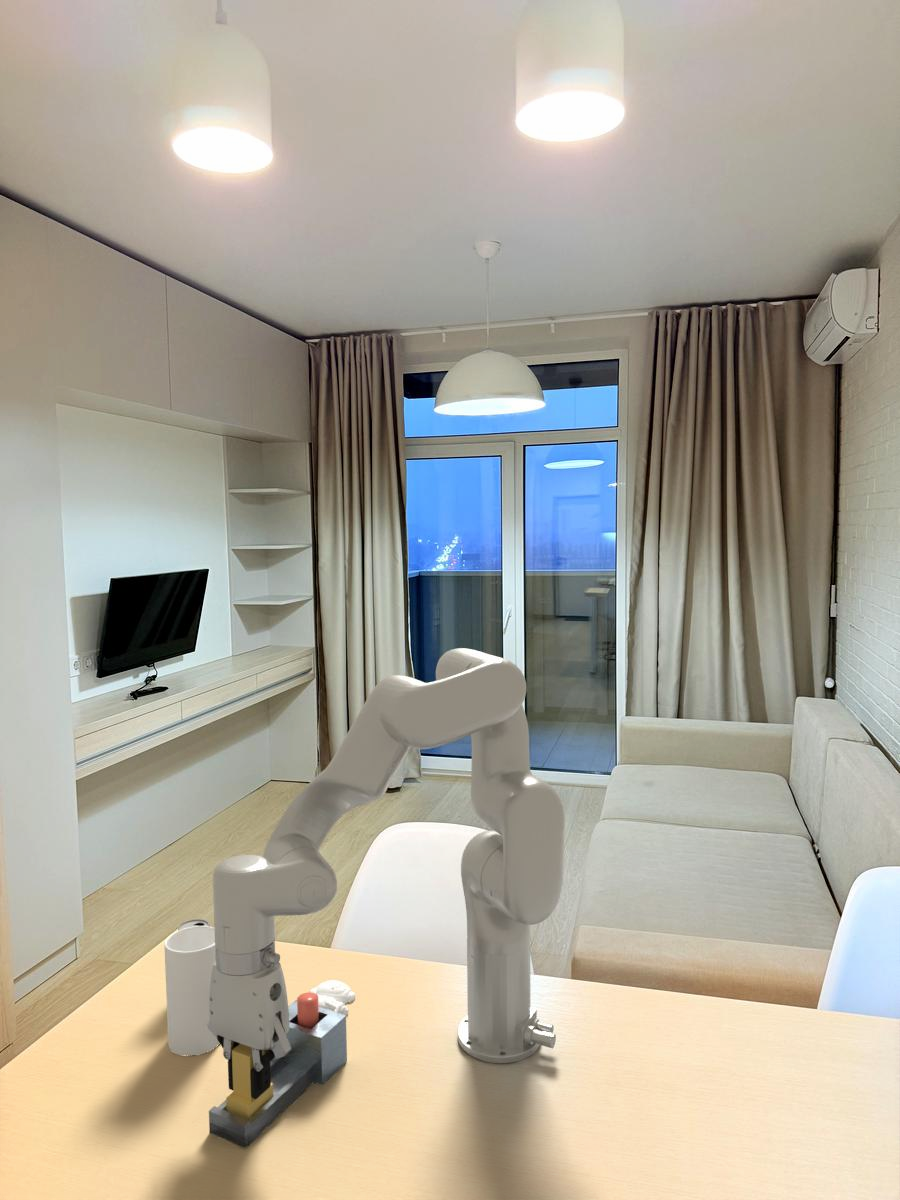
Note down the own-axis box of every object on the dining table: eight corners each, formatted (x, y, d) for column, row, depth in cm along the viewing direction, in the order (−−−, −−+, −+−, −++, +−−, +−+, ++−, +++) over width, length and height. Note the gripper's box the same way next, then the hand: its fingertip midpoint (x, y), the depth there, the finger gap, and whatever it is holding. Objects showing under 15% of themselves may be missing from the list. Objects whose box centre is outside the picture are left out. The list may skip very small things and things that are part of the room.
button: (323, 1027, 121) (322, 995, 121) (310, 1038, 118) (309, 1006, 118) (306, 1021, 122) (305, 990, 122) (293, 1032, 120) (292, 1000, 119)
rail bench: (347, 1061, 121) (346, 1015, 121) (254, 1152, 104) (253, 1099, 103) (297, 1044, 126) (296, 999, 125) (200, 1129, 108) (198, 1077, 107)
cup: (208, 1059, 122) (204, 954, 121) (157, 1052, 124) (153, 949, 123) (234, 1026, 130) (230, 928, 129) (185, 1020, 132) (182, 923, 131)
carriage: (273, 1099, 111) (271, 1040, 110) (248, 1122, 107) (246, 1062, 106) (252, 1090, 113) (250, 1033, 112) (226, 1113, 108) (224, 1054, 108)
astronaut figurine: (283, 1025, 131) (283, 1007, 131) (318, 985, 142) (318, 968, 142) (334, 1035, 128) (333, 1016, 128) (365, 993, 140) (365, 976, 139)
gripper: (314, 955, 107) (317, 1090, 109) (218, 928, 115) (222, 1054, 117) (276, 983, 101) (280, 1126, 102) (177, 952, 108) (182, 1086, 110)
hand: (249, 1086), depth 109 cm, fingers closed on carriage, 3 cm apart
